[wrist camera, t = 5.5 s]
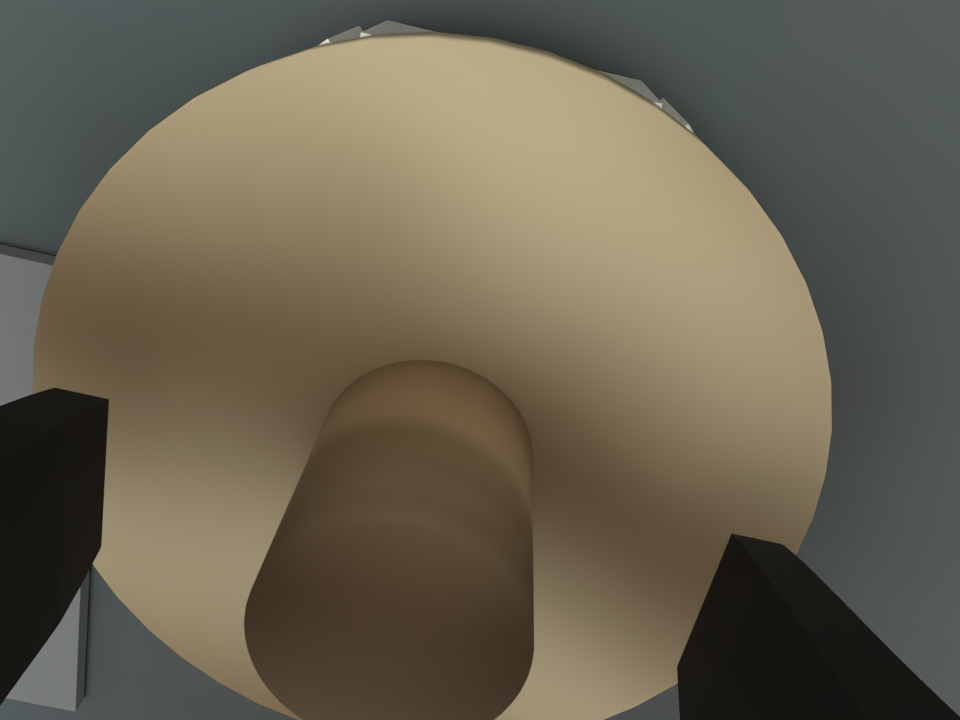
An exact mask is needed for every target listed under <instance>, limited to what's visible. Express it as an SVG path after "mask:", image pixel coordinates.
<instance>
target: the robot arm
mask: <svg viewBox="0 0 960 720" xmlns="http://www.w3.org/2000/svg"><path fill="white" fill-rule="evenodd" d="M108 409H109V399H106V398H101V397H97V396H92V395H87V394H83V393H78V392H73V391H69V390H64V389H59V388H51V389H48V390H44V391H41V392H38V393H35V394H32V395H29V396H26V397H23V398H20V399H17V400H14V401H12V402H9V403H6V404H4V405H1V406H0V705H1V704H2V702H3V701H4V699H5V698H6V697H7V695H8V694H9V693H10V691H11V690H12V689H13V687H14V686H15V685H16V683H17V682H18V680H19V679H20V678H21V676H22V675H23V674H24V672H25V671H26V669H27V668H28V667H29V665H30V664H31V663H32V661H33V660H34V658H35V657H36V656H37V654H38V653H39V652H40V650H41V649H42V647H43V646H44V645H45V643H46V642H47V640H48V639H49V638H50V636H51V635H52V633H53V632H54V631H55V629H56V628H57V626H58V625H59V623H60V622H61V620H62V618H63V617H64V615H65V613H66V611H67V610H68V608H69V606H70V604H71V602H72V601H73V599H74V597H75V595H76V594H77V592H78V590H79V588H80V586H81V585H82V583H83V581H84V579H85V577H86V575H87V573H88V571H89V569H90V568H91V566H92V564H93V562H94V560H95V558H96V556H97V554H98V552H99V550H100V549H101V543H102V524H103V505H104V486H105V466H106V447H107V428H108ZM677 676H678V692H679V709H680V720H960V717H959V716H958V715H957V714H956V713H955V712H954V711H953V710H952V709H951V708H950V707H949V706H948V705H947V704H945V703H944V702H943V701H942V700H941V699H940V698H939V697H938V696H937V695H936V694H935V693H934V692H933V691H932V690H931V689H930V688H929V687H928V686H927V685H926V684H925V683H924V682H922V681H921V680H920V679H919V678H918V677H917V676H916V675H915V674H914V673H913V672H912V671H911V670H910V669H909V668H908V667H907V666H906V665H905V664H904V663H903V662H902V661H901V660H900V659H899V658H898V657H897V656H896V655H895V654H894V653H893V652H892V651H891V650H890V649H889V648H888V647H887V646H886V645H885V644H884V643H883V642H882V641H881V640H880V639H879V638H878V637H877V636H876V635H875V634H874V633H873V632H872V631H871V630H870V629H869V628H868V627H867V626H866V625H865V624H864V623H863V622H862V621H861V620H860V619H859V618H858V617H857V615H856V614H855V613H854V612H853V611H852V610H851V609H850V608H849V607H848V606H847V605H846V604H845V603H844V602H843V601H842V600H841V599H840V598H839V597H838V596H837V595H836V594H835V593H834V592H833V591H832V590H831V589H830V588H829V587H828V586H827V585H826V584H825V583H824V582H823V581H822V580H821V579H820V578H819V577H818V576H817V575H816V574H815V573H814V572H813V571H812V570H811V569H810V568H809V567H808V566H807V565H806V564H805V563H803V562H802V561H801V560H800V559H799V558H798V557H797V556H796V555H795V554H794V553H792V552H791V551H790V550H789V549H788V548H787V547H785V546H784V545H783V544H779V543H774V542H770V541H765V540H760V539H756V538H751V537H746V536H742V535H737V534H733V533H732V534H731V536H730V538H729V541H728V543H727V546H726V548H725V551H724V553H723V556H722V558H721V560H720V563H719V565H718V568H717V570H716V573H715V575H714V578H713V580H712V582H711V585H710V587H709V590H708V592H707V595H706V597H705V599H704V602H703V604H702V607H701V609H700V612H699V614H698V617H697V619H696V621H695V624H694V626H693V629H692V631H691V634H690V636H689V639H688V641H687V643H686V646H685V648H684V651H683V653H682V656H681V658H680V660H679V663H678V665H677Z"/></svg>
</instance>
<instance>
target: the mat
mask: <svg viewBox="0 0 960 720" xmlns="http://www.w3.org/2000/svg"><path fill="white" fill-rule="evenodd" d="M55 258H56V256H52V255H48V254H43V253H39V252H34V251H29V250H25V249H20V248H16V247H11V246H7V245H2V244H0V406H1V405H4V404H6V403H9V402H12V401H14V400H17V399H20V398H23V397H26V396H29V395H32V394H33V353H34V342H35V336H36V330H37V324H38V318H39V312H40V306H41V300H42V297H43V294H44V291H45V288H46V285H47V282H48V279H49V276H50V273H51V270H52V267H53V264H54V261H55ZM89 577H90V569H89V571H88V573H87V575H86V577H85V579H84V581H83V583H82V585H81V586H80V588H79V590H78V592H77V594H76V595H75V597H74V599H73V601H72V602H71V604H70V606H69V608H68V610H67V611H66V613H65V615H64V617H63V618H62V620H61V622H60V623H59V625H58V626H57V628H56V629H55V631H54V632H53V633H52V635H51V636H50V638H49V639H48V640H47V642H46V643H45V645H44V646H43V647H42V649H41V650H40V652H39V653H38V654H37V656H36V657H35V658H34V660H33V661H32V663H31V664H30V665H29V667H28V668H27V669H26V671H25V672H24V674H23V675H22V676H21V678H20V679H19V680H18V682H17V683H16V685H15V686H14V687H13V689H12V690H11V691H10V693H9V694H8V695H7V697H6V698H8V699H13V700H18V701H23V702H28V703H33V704H38V705H43V706H48V707H53V708H58V709H63V710H68V711H73V712H76V710H77V708H78V707H79V705H80V703H81V702H82V700H83V698H84V686H85V664H86V643H87V621H88V599H89Z"/></svg>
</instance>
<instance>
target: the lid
mask: <svg viewBox="0 0 960 720" xmlns="http://www.w3.org/2000/svg"><path fill="white" fill-rule="evenodd" d="M51 388H59V389H64V390H69V391H73V392H78V393H83V394H87V395H92V396H97V397H101V398H106V399H109V409H108V428H107V447H106V466H105V486H104V505H103V524H102V543H101V549H100V550H99V552H98V554H97V556H96V558H95V560H94V562H93V565H94V567H95V568H96V569H97V571H98V572H99V573H100V575H101V576H102V577H103V579H104V580H105V581H106V583H107V584H108V585H109V587H110V588H111V589H112V591H113V592H114V593H115V595H116V596H117V597H118V598H119V599H120V600H121V601H122V602H123V603H124V604H125V606H126V607H127V608H128V609H129V610H130V611H131V612H132V613H133V614H134V615H135V616H136V617H137V618H138V619H139V620H140V621H141V622H142V623H143V624H144V625H145V626H146V628H147V629H148V630H150V631H151V632H152V633H153V634H154V635H156V636H157V637H158V638H159V639H160V640H162V641H163V642H164V643H165V644H166V645H167V646H169V647H170V648H171V649H172V650H173V651H175V652H176V653H177V654H178V655H179V656H181V657H182V658H183V659H185V660H186V661H188V662H189V663H191V664H192V665H194V666H195V667H197V668H198V669H199V670H201V671H202V672H204V673H205V674H207V675H208V676H210V677H211V678H213V679H214V680H216V681H217V682H219V683H221V684H222V685H224V686H226V687H228V688H230V689H232V690H234V691H236V692H237V693H239V694H241V695H243V696H245V697H247V698H249V699H250V700H252V701H254V702H256V703H258V704H260V705H263V706H265V707H268V708H270V709H272V710H275V711H277V712H280V713H282V714H285V715H287V716H289V717H292V718H294V719H297V720H604V719H607V718H609V717H611V716H614V715H616V714H619V713H621V712H623V711H626V710H628V709H631V708H633V707H635V706H638V705H639V704H641V703H643V702H645V701H647V700H648V699H650V698H652V697H654V696H656V695H657V694H659V693H661V692H663V691H665V690H666V689H668V688H670V687H672V686H674V685H675V684H677V683H678V676H677V665H678V663H679V660H680V658H681V656H682V653H683V651H684V648H685V646H686V643H687V641H688V639H689V636H690V634H691V631H692V629H693V626H694V624H695V621H696V619H697V617H698V614H699V612H700V609H701V607H702V604H703V602H704V599H705V597H706V595H707V592H708V590H709V587H710V585H711V582H712V580H713V578H714V575H715V573H716V570H717V568H718V565H719V563H720V560H721V558H722V556H723V553H724V551H725V548H726V546H727V543H728V541H729V538H730V536H731V534H732V533H733V534H737V535H742V536H746V537H751V538H756V539H760V540H765V541H770V542H774V543H779V544H783V545H784V546H785V547H787V548H788V549H789V550H790V551H791V552H792V553H794V554H795V555H797V552H798V550H799V548H800V546H801V544H802V542H803V539H804V537H805V535H806V533H807V531H808V528H809V526H810V524H811V522H812V520H813V517H814V513H815V510H816V506H817V503H818V500H819V496H820V493H821V489H822V486H823V482H824V479H825V476H826V469H827V461H828V454H829V446H830V439H831V432H832V407H831V378H830V372H829V366H828V360H827V355H826V349H825V343H824V337H823V332H822V329H821V326H820V323H819V320H818V317H817V314H816V311H815V308H814V305H813V302H812V299H811V296H810V293H809V290H808V287H807V284H806V282H805V280H804V278H803V276H802V274H801V272H800V270H799V268H798V266H797V264H796V263H795V261H794V259H793V257H792V255H791V253H790V251H789V249H788V247H787V245H786V243H785V241H784V239H783V237H782V236H781V234H780V233H779V231H778V230H777V229H776V227H775V226H774V224H773V223H772V222H771V220H770V219H769V217H768V216H767V215H766V213H765V212H764V211H763V209H762V208H761V206H760V205H759V204H758V202H757V201H756V199H755V198H754V197H753V195H752V194H751V193H750V191H749V190H748V189H747V188H746V187H745V186H744V185H743V184H742V183H741V182H740V180H739V179H738V178H737V177H736V176H735V175H734V174H733V173H732V172H731V171H730V170H729V169H728V168H727V167H726V166H725V165H724V164H723V163H722V162H721V161H720V160H719V159H718V158H717V157H716V156H715V155H714V153H713V152H712V151H711V150H710V149H709V148H708V147H707V146H706V145H705V144H704V143H703V142H702V141H701V140H700V139H699V138H698V137H697V136H696V135H695V134H694V133H693V132H692V131H690V130H689V129H688V128H686V127H685V126H684V125H682V124H681V123H680V122H679V121H677V120H676V119H675V118H673V117H672V116H671V115H669V114H668V113H667V112H666V111H664V110H663V109H662V108H660V107H659V106H658V105H657V104H655V103H654V102H653V101H651V100H650V99H648V98H646V97H645V96H643V95H641V94H639V93H638V92H636V91H634V90H632V89H630V88H629V87H627V86H625V85H623V84H622V83H620V82H618V81H616V80H615V79H613V78H611V77H609V76H608V75H606V74H604V73H602V72H600V71H598V70H595V69H593V68H590V67H587V66H585V65H582V64H580V63H577V62H575V61H572V60H570V59H567V58H565V57H562V56H560V55H557V54H555V53H552V52H550V51H546V50H542V49H538V48H534V47H530V46H526V45H521V44H517V43H513V42H509V41H505V40H501V39H497V38H493V37H483V36H473V35H463V34H453V33H443V32H415V33H390V34H375V35H370V36H364V37H359V38H353V39H348V40H342V41H337V42H331V43H326V44H321V45H318V46H315V47H312V48H309V49H306V50H303V51H300V52H297V53H294V54H292V55H289V56H286V57H283V58H280V59H277V60H274V61H271V62H268V63H266V64H263V65H261V66H258V67H256V68H253V69H251V70H249V71H246V72H244V73H242V74H240V75H238V76H236V77H234V78H232V79H230V80H228V81H227V82H225V83H223V84H221V85H219V86H217V87H215V88H213V89H211V90H209V91H207V92H205V93H203V94H201V95H199V96H197V97H195V98H194V99H192V100H191V101H189V102H188V103H187V104H185V105H184V106H183V107H181V108H180V109H178V110H177V111H176V112H174V113H173V114H171V115H170V116H169V117H167V118H166V119H164V120H163V121H162V122H160V123H159V124H157V125H156V126H155V127H153V128H152V129H150V130H149V131H148V132H147V133H146V134H145V135H144V136H143V137H142V138H141V139H140V140H139V141H138V142H137V143H136V144H135V145H134V146H133V147H132V148H131V149H130V150H129V151H128V152H127V153H126V154H125V155H124V156H123V157H122V158H121V159H120V160H119V161H118V162H117V163H116V164H114V165H113V166H112V167H111V169H110V170H109V171H108V173H107V174H106V175H105V177H104V178H103V179H102V181H101V182H100V183H99V185H98V186H97V187H96V189H95V190H94V192H93V193H92V194H91V196H90V197H89V198H88V200H87V201H86V202H85V204H84V205H83V206H82V208H81V209H80V211H79V213H78V215H77V216H76V218H75V220H74V222H73V224H72V226H71V228H70V230H69V232H68V234H67V236H66V238H65V240H64V241H63V243H62V245H61V247H60V249H59V251H58V253H57V255H56V258H55V261H54V264H53V267H52V270H51V273H50V276H49V279H48V282H47V285H46V288H45V291H44V294H43V297H42V300H41V306H40V312H39V318H38V324H37V330H36V336H35V342H34V353H33V394H35V393H38V392H41V391H44V390H48V389H51Z"/></svg>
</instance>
